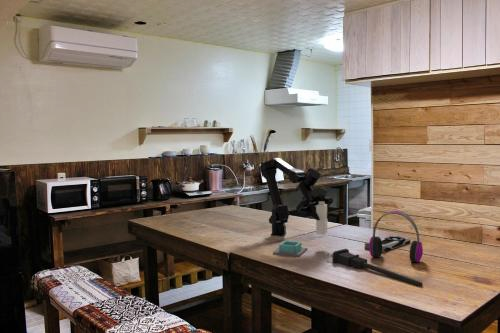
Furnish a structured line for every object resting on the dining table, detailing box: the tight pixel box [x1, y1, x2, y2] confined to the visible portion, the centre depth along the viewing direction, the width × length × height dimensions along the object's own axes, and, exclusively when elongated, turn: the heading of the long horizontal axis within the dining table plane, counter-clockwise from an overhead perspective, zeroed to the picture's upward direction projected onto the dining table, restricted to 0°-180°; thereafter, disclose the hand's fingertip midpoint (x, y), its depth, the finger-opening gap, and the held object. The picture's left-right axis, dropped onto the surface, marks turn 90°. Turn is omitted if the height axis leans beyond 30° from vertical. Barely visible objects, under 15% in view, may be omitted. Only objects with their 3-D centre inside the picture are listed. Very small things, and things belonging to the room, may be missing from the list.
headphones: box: [368, 210, 424, 264], centre depth 174 cm, size 21×9×20 cm, turn 59°
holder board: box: [272, 240, 308, 258], centre depth 188 cm, size 12×12×4 cm
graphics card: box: [364, 234, 411, 254], centre depth 195 cm, size 10×3×25 cm
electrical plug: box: [326, 248, 424, 288], centre depth 160 cm, size 9×42×5 cm, turn 35°
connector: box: [315, 200, 328, 235], centre depth 193 cm, size 4×4×14 cm
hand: (323, 219), depth 192 cm, fingers closed on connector, 5 cm apart
